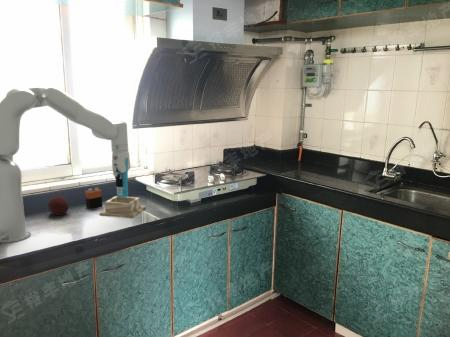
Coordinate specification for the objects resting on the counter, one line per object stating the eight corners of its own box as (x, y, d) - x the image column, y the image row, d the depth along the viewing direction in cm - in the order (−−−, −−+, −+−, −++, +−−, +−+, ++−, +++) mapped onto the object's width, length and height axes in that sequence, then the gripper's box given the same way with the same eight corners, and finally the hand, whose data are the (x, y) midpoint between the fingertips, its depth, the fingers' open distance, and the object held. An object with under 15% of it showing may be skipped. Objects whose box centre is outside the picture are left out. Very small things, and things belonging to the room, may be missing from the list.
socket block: (133, 217, 178) (132, 205, 177) (99, 215, 181) (98, 203, 180) (145, 208, 192) (145, 196, 191) (114, 206, 196) (113, 194, 194)
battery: (86, 208, 192) (84, 188, 190) (98, 205, 197) (97, 186, 195) (90, 210, 189) (88, 190, 187) (102, 207, 194) (101, 188, 192)
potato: (52, 219, 175) (51, 200, 173) (46, 213, 184) (44, 194, 182) (72, 215, 180) (70, 197, 178) (64, 209, 190) (63, 191, 188)
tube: (131, 195, 188) (129, 156, 184) (129, 197, 183) (127, 158, 179) (115, 195, 187) (113, 156, 183) (113, 198, 182) (111, 158, 178)
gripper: (119, 151, 171) (121, 190, 175) (134, 145, 188) (136, 181, 191) (103, 150, 173) (106, 189, 177) (120, 145, 189) (122, 181, 193)
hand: (121, 185), depth 184 cm, fingers closed on tube, 4 cm apart
